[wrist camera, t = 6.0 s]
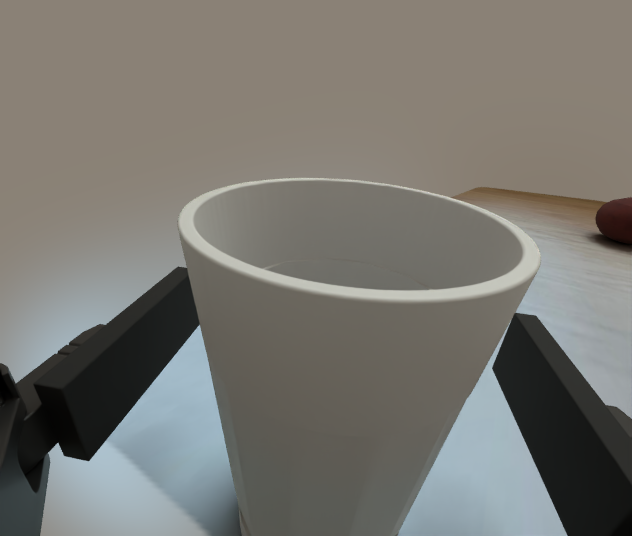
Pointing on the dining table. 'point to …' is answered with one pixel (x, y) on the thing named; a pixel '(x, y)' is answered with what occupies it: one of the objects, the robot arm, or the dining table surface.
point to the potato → (616, 220)
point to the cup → (344, 339)
